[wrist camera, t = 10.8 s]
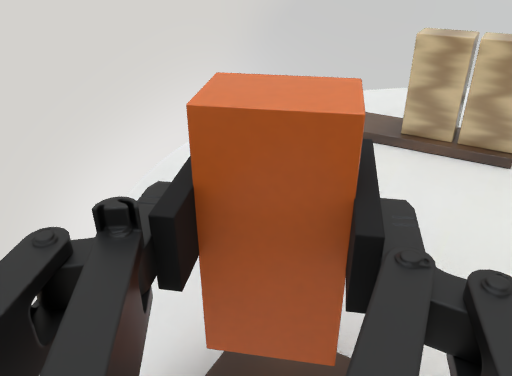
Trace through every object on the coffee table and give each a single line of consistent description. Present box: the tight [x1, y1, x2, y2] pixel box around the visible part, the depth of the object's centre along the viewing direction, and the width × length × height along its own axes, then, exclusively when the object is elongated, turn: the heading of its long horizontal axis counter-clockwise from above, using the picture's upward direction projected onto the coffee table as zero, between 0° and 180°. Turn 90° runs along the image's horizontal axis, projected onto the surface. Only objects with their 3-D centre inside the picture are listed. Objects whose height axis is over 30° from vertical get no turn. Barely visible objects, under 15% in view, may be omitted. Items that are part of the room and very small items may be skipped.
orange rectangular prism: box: [186, 73, 366, 366], centre depth 16 cm, size 5×4×10 cm
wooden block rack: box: [363, 28, 512, 169], centre depth 46 cm, size 22×6×11 cm, turn 60°
